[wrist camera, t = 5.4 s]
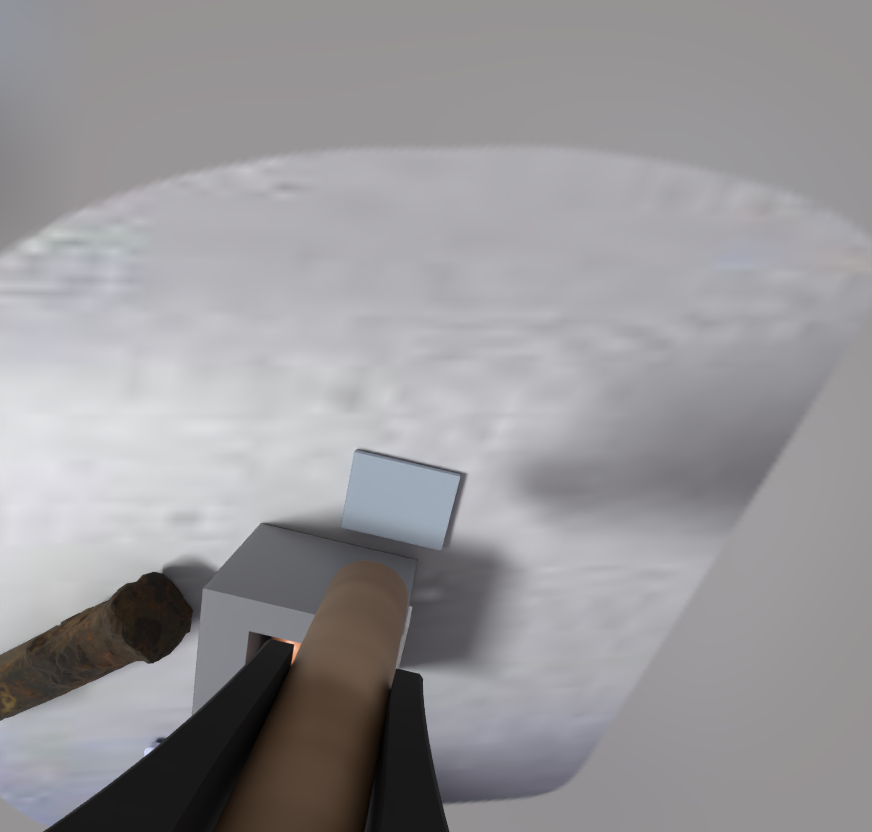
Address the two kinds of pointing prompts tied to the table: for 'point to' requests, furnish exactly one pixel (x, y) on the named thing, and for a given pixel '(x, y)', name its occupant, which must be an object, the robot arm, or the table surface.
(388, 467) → the pad
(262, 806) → the wooden rod
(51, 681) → the brown rough rod
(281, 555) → the gray hollow box
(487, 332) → the table surface
